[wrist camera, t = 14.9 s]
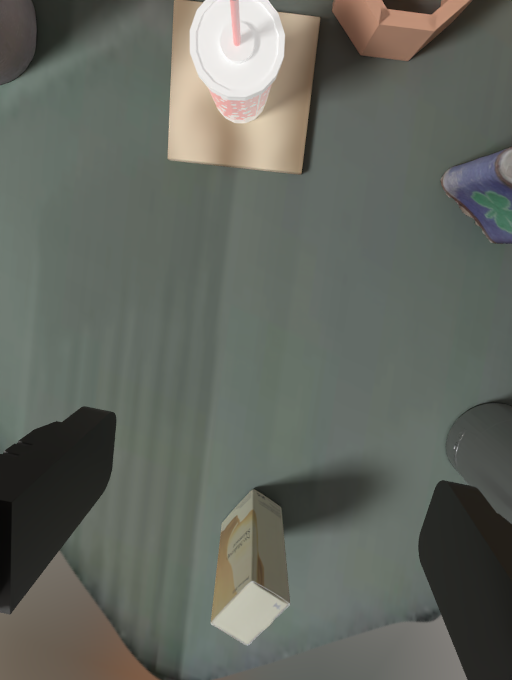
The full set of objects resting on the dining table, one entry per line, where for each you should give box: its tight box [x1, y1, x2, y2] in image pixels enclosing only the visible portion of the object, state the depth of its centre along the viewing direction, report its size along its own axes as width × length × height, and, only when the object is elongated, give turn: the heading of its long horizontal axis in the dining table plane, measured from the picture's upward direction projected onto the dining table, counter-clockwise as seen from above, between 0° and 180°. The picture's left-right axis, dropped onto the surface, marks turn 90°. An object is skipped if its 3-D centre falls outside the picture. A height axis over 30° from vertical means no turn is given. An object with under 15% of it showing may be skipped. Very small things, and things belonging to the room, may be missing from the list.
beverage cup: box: [190, 0, 285, 123], centre depth 27 cm, size 6×6×14 cm
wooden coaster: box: [168, 0, 320, 175], centre depth 34 cm, size 12×12×1 cm
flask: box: [441, 147, 512, 244], centre depth 32 cm, size 9×3×11 cm, turn 48°
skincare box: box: [211, 489, 290, 645], centre depth 39 cm, size 6×4×12 cm
